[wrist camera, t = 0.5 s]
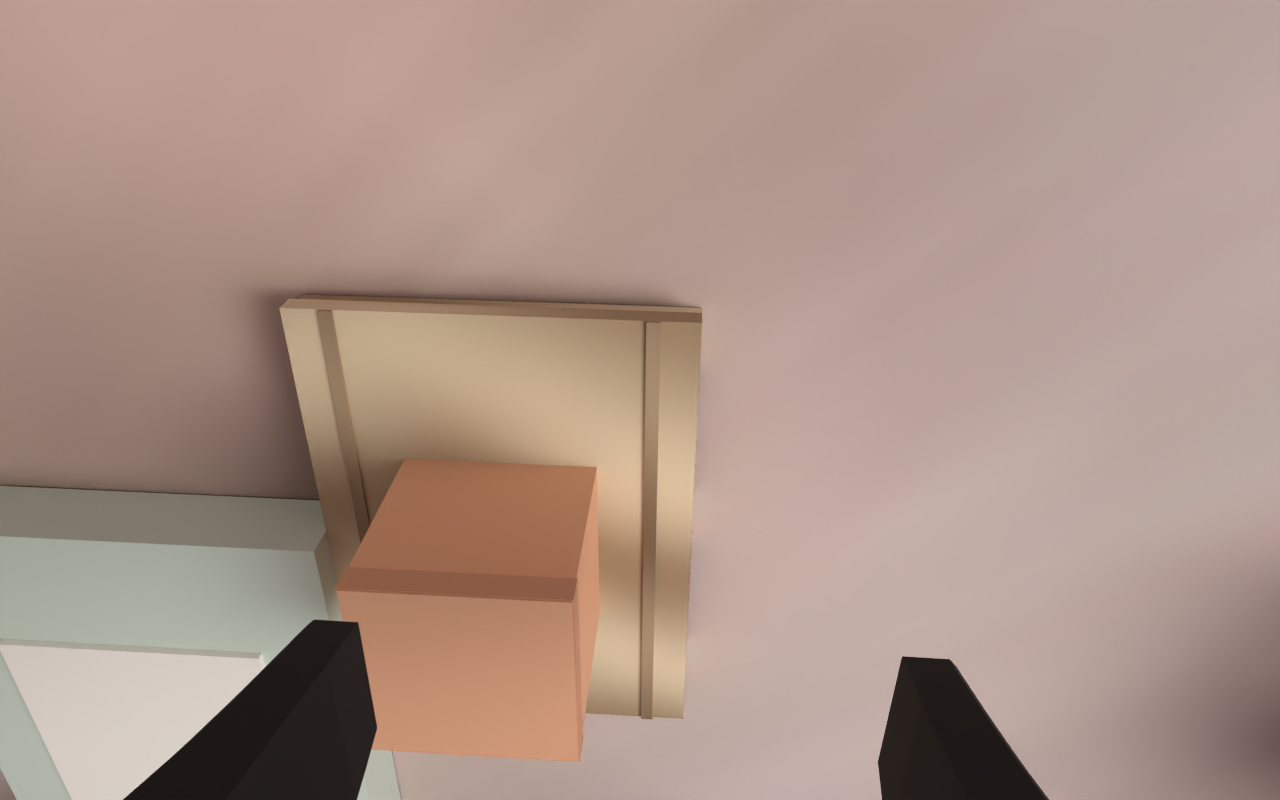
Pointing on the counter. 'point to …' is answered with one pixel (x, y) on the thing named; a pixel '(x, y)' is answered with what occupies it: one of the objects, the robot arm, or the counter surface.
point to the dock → (145, 627)
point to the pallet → (522, 439)
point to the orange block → (479, 608)
